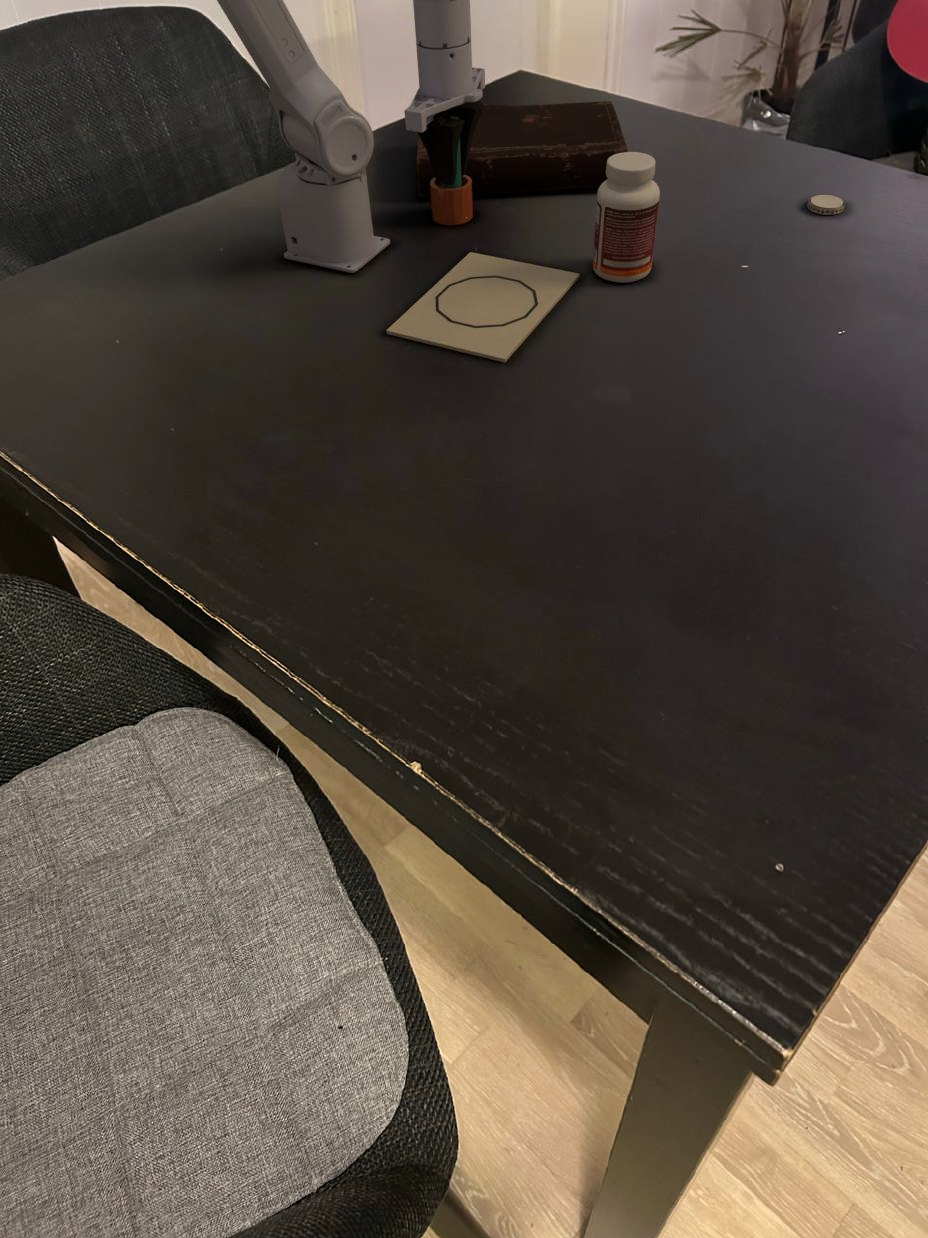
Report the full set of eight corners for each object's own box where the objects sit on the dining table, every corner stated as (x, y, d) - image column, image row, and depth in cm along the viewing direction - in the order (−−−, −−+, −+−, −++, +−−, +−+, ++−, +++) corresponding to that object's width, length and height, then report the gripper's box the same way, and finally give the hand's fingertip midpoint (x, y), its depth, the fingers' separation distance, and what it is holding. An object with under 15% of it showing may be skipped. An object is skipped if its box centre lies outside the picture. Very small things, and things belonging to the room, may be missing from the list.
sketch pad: (386, 333, 86) (386, 329, 86) (470, 255, 97) (470, 251, 96) (505, 362, 82) (505, 358, 81) (579, 277, 92) (580, 272, 92)
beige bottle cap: (802, 209, 100) (803, 204, 100) (814, 196, 102) (815, 191, 102) (837, 217, 99) (838, 211, 98) (848, 203, 101) (850, 198, 100)
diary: (625, 192, 106) (629, 148, 102) (419, 202, 106) (415, 158, 103) (607, 135, 118) (610, 93, 115) (423, 144, 119) (420, 103, 115)
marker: (440, 213, 103) (435, 120, 95) (449, 205, 104) (445, 113, 97) (457, 216, 102) (453, 123, 95) (465, 208, 103) (462, 116, 96)
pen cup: (425, 221, 103) (422, 186, 100) (444, 205, 106) (442, 170, 103) (461, 228, 101) (459, 192, 98) (480, 211, 104) (479, 176, 101)
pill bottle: (663, 272, 92) (678, 162, 84) (618, 290, 90) (628, 178, 82) (624, 251, 96) (634, 143, 87) (580, 268, 94) (586, 159, 85)
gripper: (444, 66, 85) (451, 208, 95) (509, 24, 93) (510, 159, 103) (381, 58, 87) (396, 198, 97) (450, 18, 95) (457, 151, 106)
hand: (451, 178), depth 100 cm, fingers closed on marker, 2 cm apart
